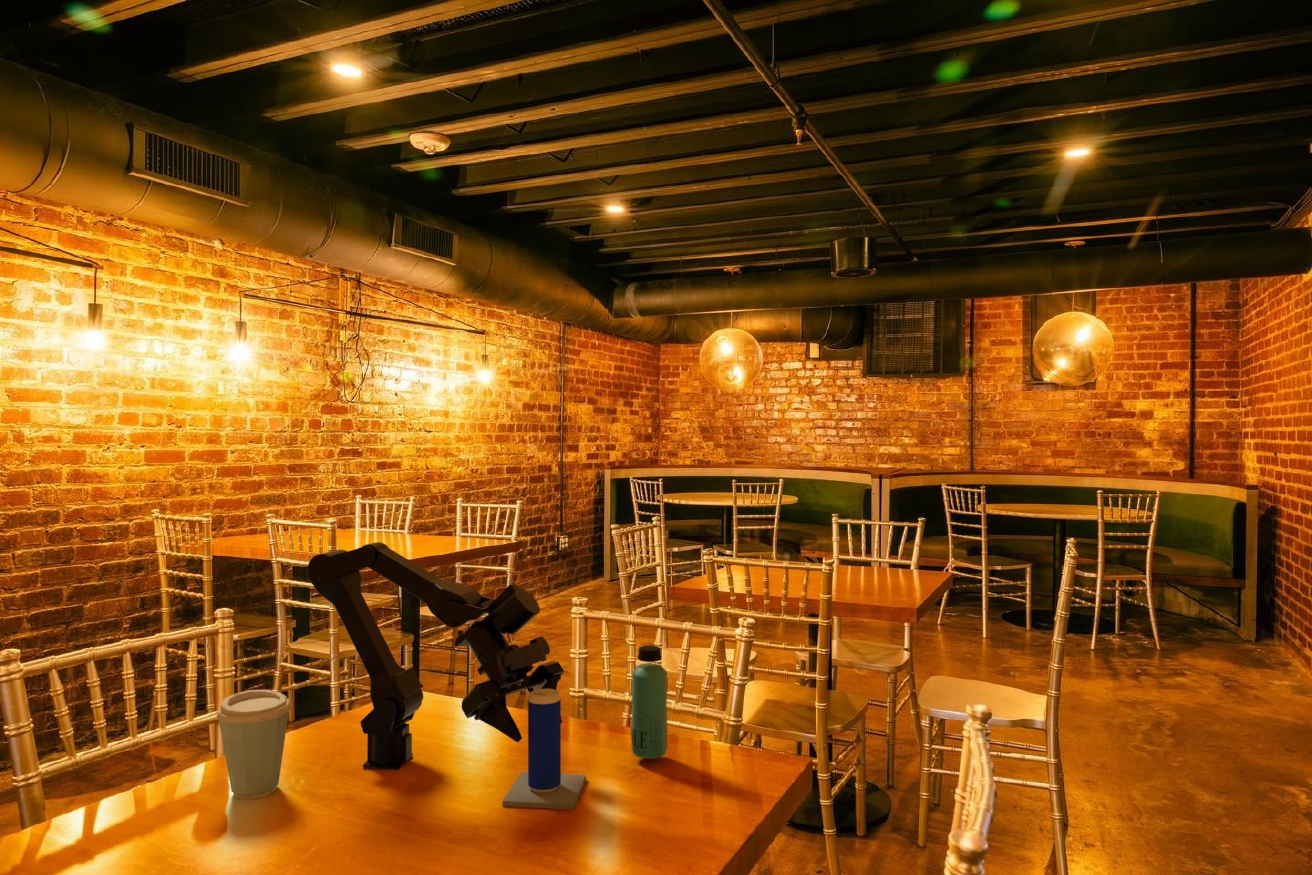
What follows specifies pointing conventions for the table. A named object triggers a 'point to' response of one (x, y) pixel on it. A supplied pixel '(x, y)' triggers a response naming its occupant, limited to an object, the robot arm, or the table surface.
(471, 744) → the table surface
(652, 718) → the beverage bottle
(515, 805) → the coaster
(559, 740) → the beverage can
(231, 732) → the disposable coffee cup
